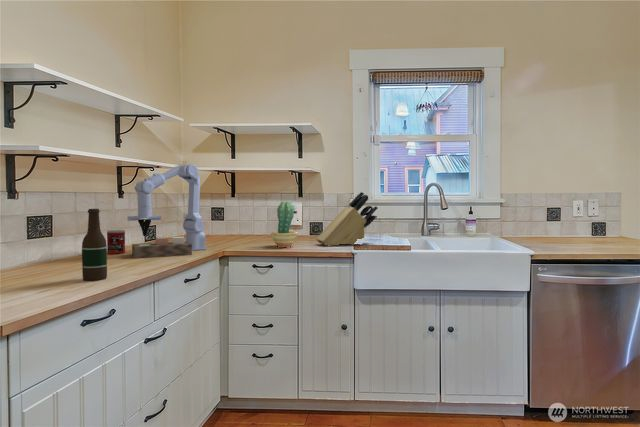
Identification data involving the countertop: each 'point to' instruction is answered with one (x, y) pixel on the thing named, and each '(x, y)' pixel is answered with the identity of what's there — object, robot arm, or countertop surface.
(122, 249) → the canned food
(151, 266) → the countertop surface
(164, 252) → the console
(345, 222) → the knife block
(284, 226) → the potted cactus
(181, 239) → the key cream
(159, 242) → the key terracotta
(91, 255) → the beer bottle
